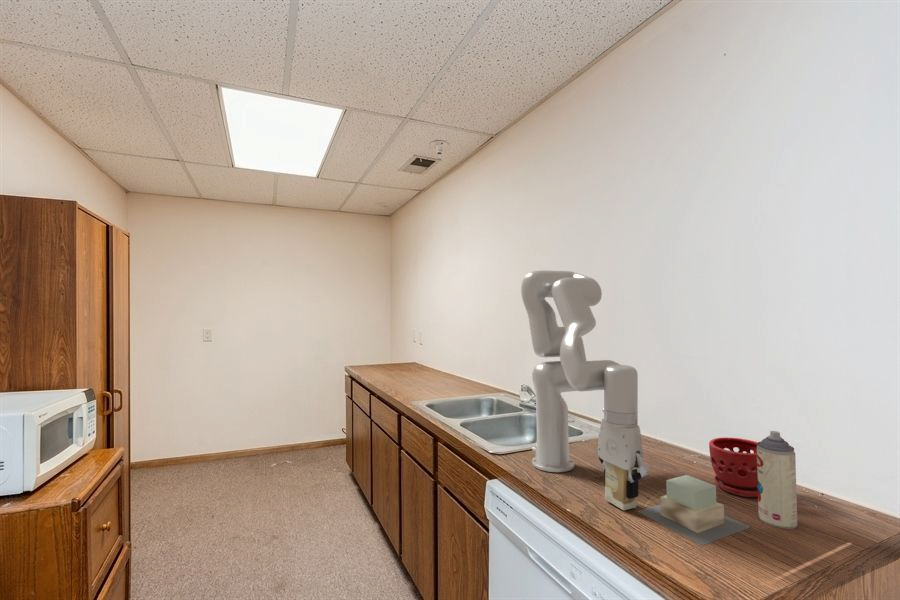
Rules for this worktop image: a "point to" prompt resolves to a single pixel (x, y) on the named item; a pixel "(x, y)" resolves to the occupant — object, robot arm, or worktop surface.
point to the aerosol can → (777, 482)
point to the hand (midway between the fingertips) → (620, 490)
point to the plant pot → (735, 465)
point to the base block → (692, 515)
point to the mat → (701, 537)
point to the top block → (691, 492)
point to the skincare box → (618, 487)
